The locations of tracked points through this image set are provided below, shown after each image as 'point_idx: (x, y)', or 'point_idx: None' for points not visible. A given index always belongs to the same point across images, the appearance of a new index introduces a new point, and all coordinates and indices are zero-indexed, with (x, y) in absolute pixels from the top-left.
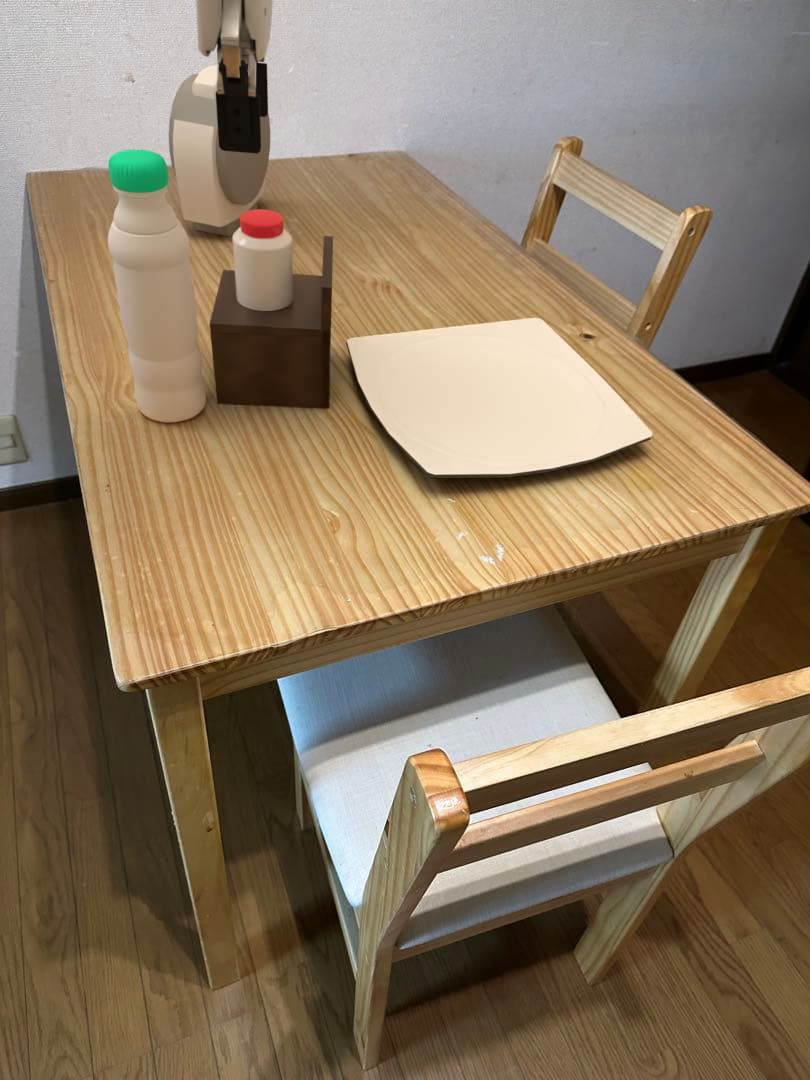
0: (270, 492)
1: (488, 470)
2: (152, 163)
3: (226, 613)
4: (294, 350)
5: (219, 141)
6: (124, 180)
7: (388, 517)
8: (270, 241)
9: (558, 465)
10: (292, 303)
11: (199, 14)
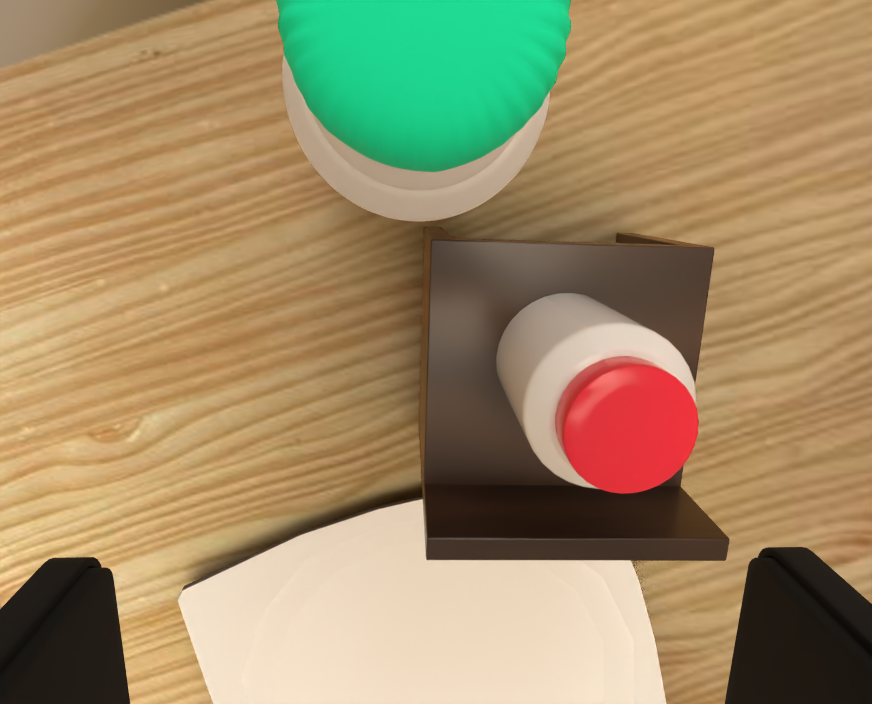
0: (173, 336)
1: (215, 670)
2: (347, 106)
3: None
4: (423, 409)
5: (32, 580)
6: None
7: (135, 511)
8: (547, 442)
9: None
10: None
11: None
